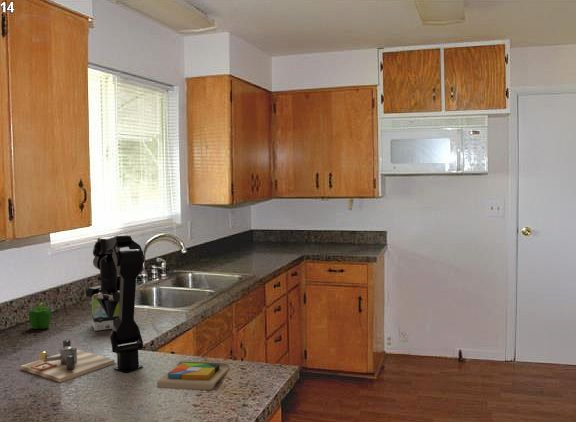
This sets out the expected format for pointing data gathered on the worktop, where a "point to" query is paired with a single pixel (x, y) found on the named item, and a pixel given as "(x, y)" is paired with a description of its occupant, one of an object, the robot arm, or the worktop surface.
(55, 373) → the board
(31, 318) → the bell pepper
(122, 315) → the robot arm
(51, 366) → the level window
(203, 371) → the wooden puzzle
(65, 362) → the bell crank
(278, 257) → the worktop surface
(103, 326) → the tea box
